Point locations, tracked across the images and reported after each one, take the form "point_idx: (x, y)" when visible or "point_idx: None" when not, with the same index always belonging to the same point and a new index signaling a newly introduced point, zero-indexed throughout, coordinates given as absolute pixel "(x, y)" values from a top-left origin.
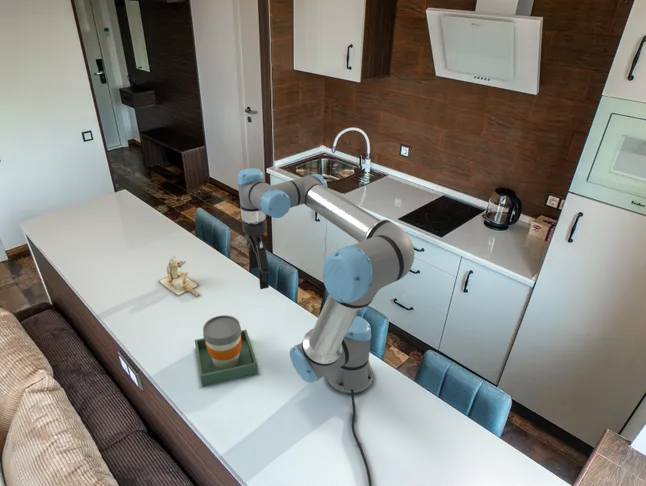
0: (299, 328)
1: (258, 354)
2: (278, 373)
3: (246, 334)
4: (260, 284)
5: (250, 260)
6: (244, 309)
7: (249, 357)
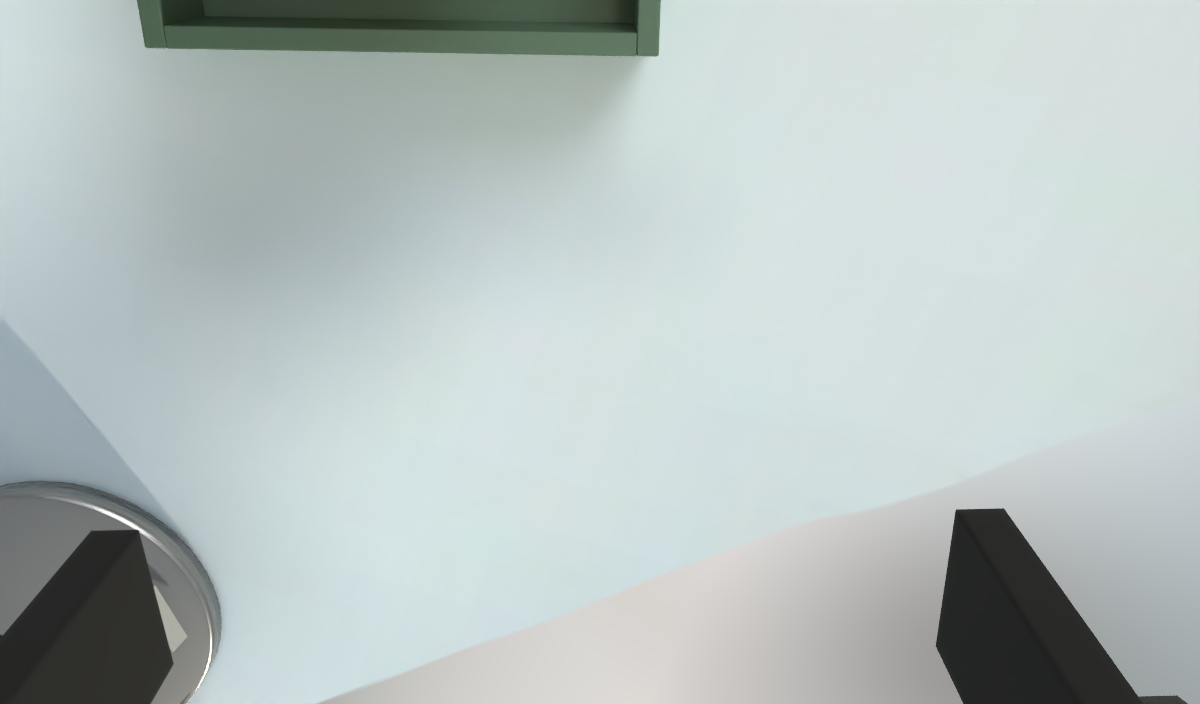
0: (635, 469)
1: (426, 93)
2: (175, 193)
3: (582, 41)
4: (27, 611)
5: (1042, 664)
6: (1086, 110)
7: (388, 6)
